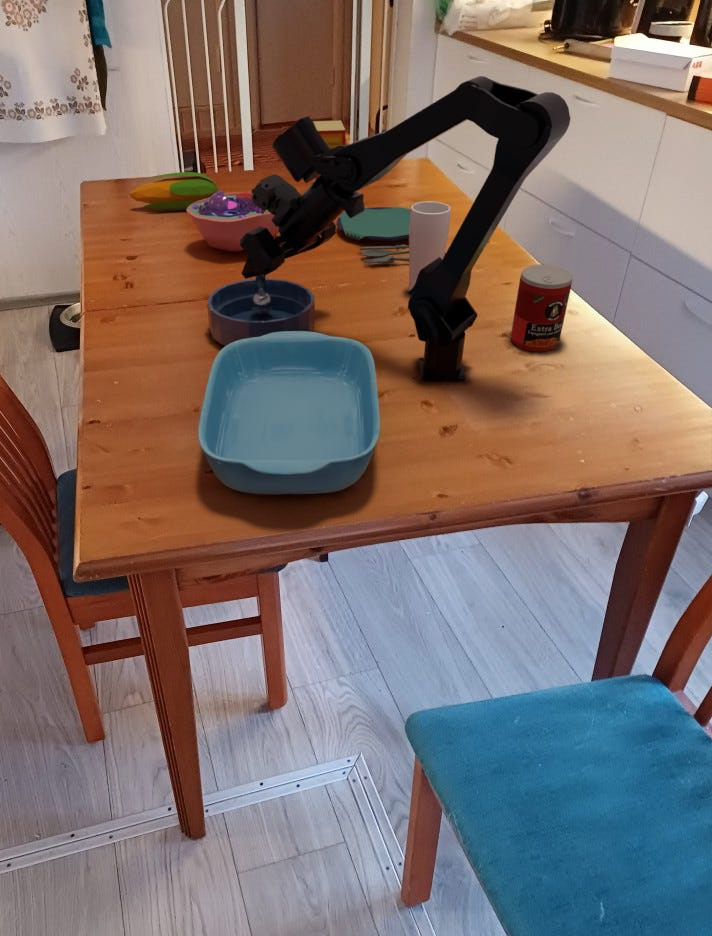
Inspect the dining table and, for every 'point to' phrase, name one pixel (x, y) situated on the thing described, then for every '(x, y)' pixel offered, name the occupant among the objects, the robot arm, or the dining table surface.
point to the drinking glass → (427, 235)
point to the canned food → (540, 307)
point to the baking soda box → (331, 134)
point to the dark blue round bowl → (239, 321)
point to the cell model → (229, 219)
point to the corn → (175, 191)
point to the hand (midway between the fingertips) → (261, 266)
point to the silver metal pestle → (261, 297)
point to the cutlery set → (378, 231)
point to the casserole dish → (290, 413)
